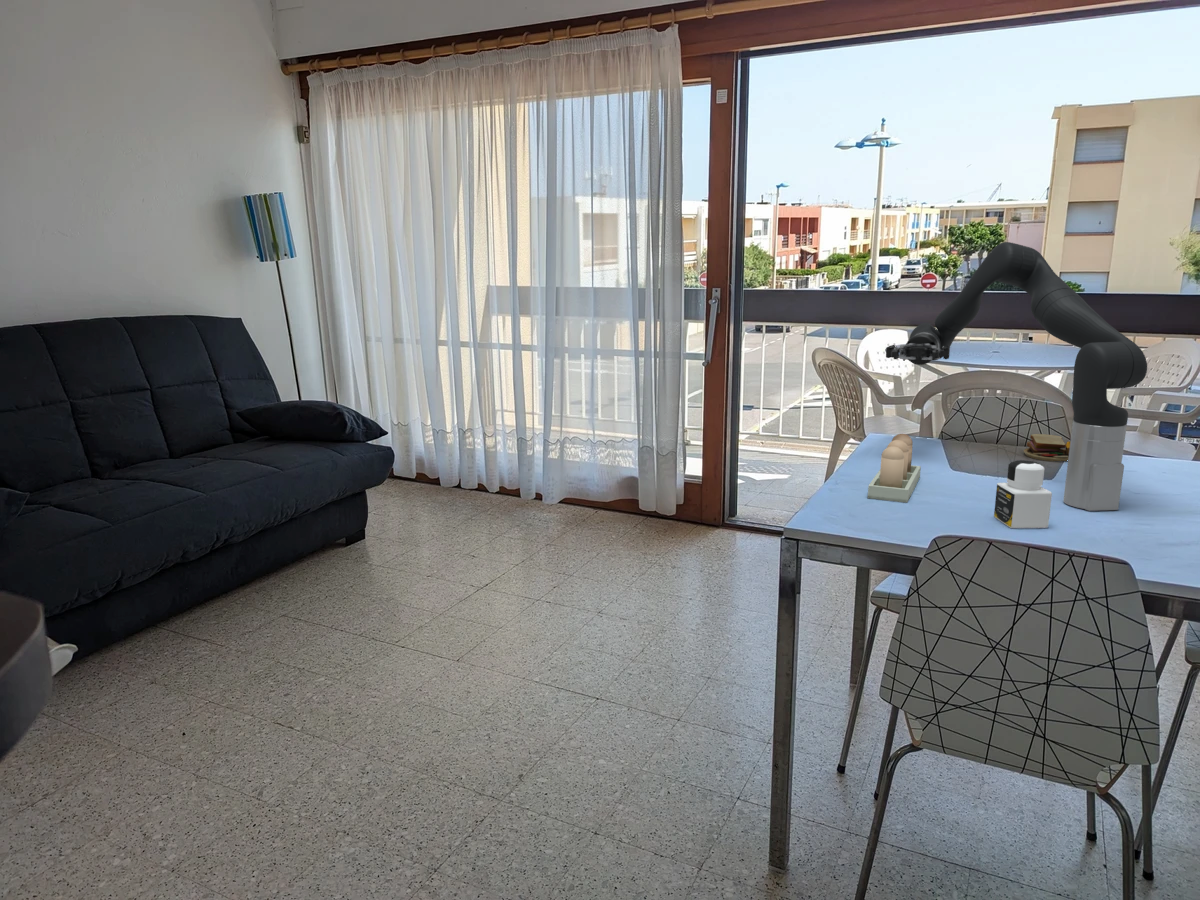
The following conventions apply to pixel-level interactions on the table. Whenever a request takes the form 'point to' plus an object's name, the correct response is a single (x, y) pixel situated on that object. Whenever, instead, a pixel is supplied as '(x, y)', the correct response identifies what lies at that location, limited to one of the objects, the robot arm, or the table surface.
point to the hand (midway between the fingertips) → (914, 355)
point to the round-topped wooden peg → (909, 443)
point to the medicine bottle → (1023, 497)
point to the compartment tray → (894, 475)
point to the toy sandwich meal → (1047, 448)
